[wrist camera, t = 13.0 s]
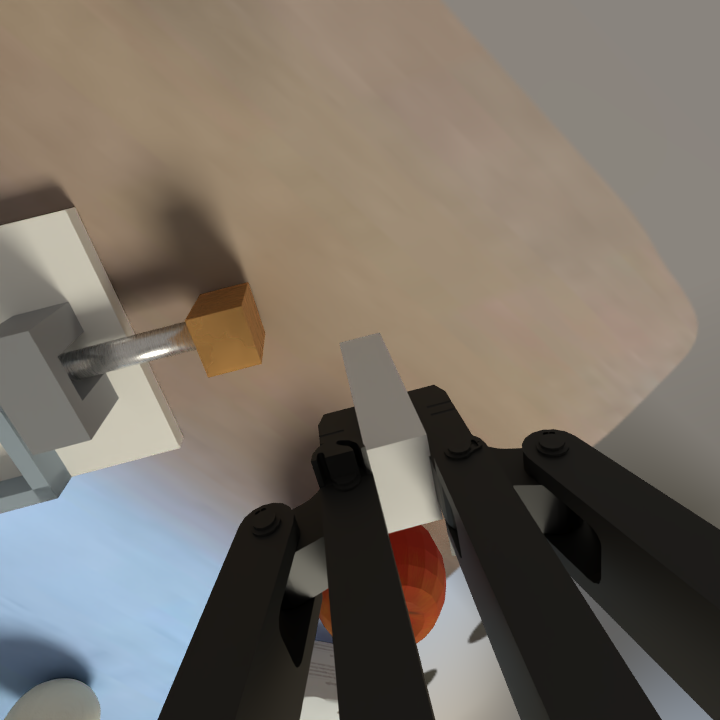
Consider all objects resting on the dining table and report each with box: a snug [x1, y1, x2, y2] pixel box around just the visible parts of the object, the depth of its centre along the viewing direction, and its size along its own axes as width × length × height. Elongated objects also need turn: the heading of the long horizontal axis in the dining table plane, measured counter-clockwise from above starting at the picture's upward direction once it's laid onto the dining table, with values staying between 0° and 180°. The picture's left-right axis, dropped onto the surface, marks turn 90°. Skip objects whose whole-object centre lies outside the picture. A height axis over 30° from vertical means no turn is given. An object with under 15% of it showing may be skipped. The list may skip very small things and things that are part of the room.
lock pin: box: [58, 282, 265, 382], centre depth 25 cm, size 11×3×4 cm, turn 102°
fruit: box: [319, 525, 446, 643], centre depth 32 cm, size 10×10×10 cm
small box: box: [300, 640, 339, 720], centre depth 40 cm, size 8×8×5 cm
